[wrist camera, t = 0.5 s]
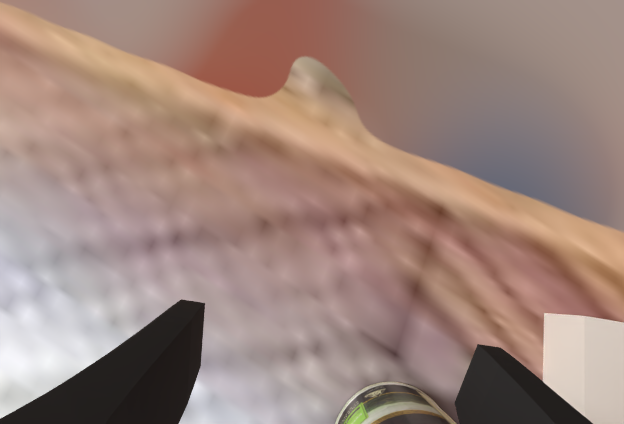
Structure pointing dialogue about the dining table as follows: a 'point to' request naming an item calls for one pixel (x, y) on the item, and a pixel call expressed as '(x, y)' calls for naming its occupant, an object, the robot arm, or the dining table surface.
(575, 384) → the block
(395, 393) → the coffee can
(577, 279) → the dining table surface
